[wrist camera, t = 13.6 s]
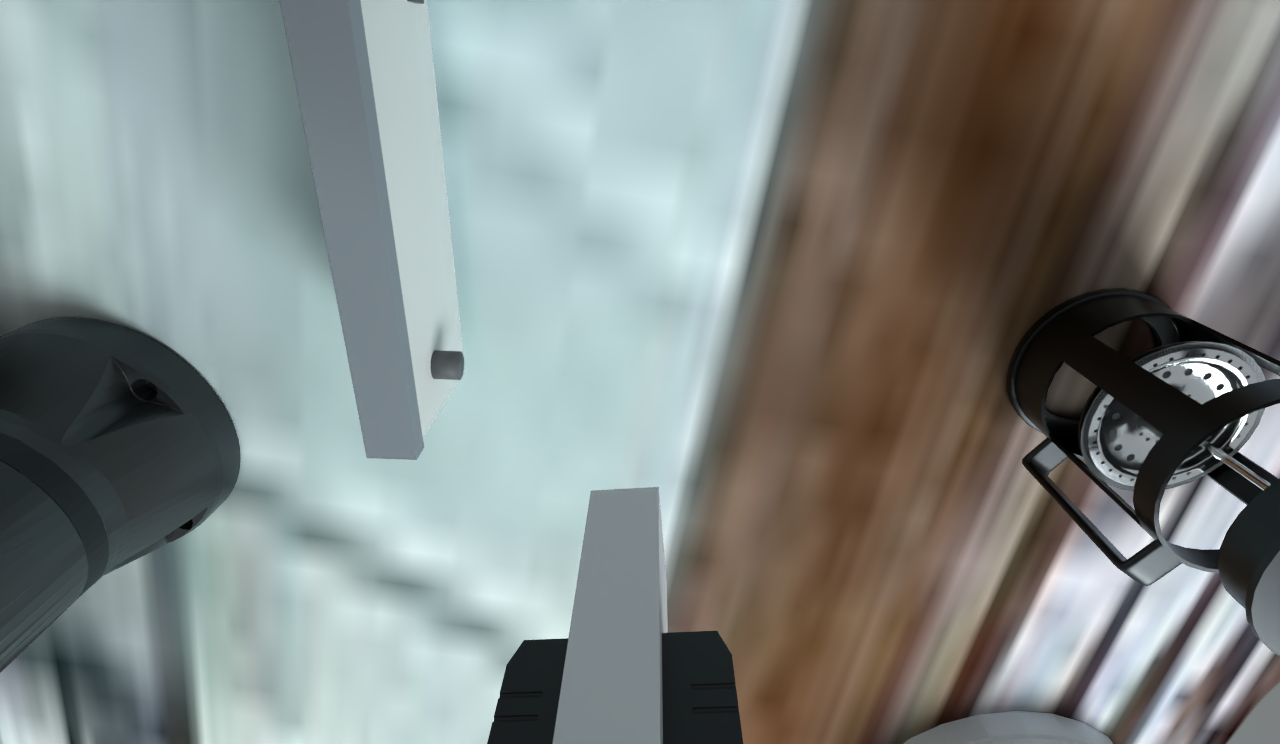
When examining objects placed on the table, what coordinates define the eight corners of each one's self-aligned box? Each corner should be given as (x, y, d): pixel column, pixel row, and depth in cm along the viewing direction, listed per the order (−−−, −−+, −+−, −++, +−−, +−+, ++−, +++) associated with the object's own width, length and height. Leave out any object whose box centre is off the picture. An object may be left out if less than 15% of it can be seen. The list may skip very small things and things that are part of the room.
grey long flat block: (366, -142, 26) (234, -236, 18) (442, -140, 26) (344, -233, 18) (431, 369, 36) (366, 457, 28) (486, 371, 36) (437, 460, 28)
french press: (1118, 244, 34) (1861, 532, 13) (1224, 339, 36) (2003, 717, 15) (950, 401, 38) (1303, 806, 17) (1053, 478, 40) (1478, 919, 19)
